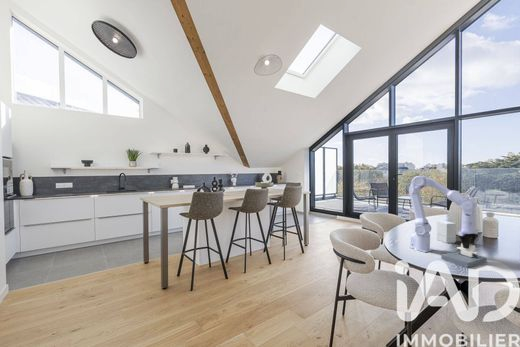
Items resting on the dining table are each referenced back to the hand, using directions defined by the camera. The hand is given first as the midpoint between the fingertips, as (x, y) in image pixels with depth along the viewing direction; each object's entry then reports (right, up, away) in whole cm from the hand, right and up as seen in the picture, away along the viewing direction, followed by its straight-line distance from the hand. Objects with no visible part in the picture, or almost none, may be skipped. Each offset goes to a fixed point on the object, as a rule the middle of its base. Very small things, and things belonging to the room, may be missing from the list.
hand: (467, 247), depth 132 cm
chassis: (-3, -7, -1) cm, 7 cm away
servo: (0, -4, 0) cm, 4 cm away
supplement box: (+12, -6, +32) cm, 35 cm away
